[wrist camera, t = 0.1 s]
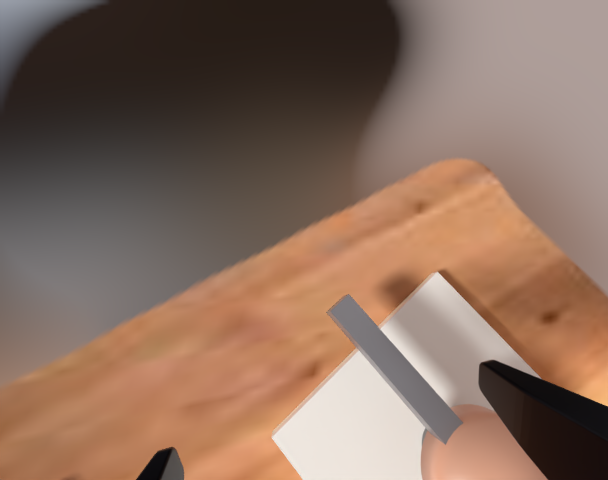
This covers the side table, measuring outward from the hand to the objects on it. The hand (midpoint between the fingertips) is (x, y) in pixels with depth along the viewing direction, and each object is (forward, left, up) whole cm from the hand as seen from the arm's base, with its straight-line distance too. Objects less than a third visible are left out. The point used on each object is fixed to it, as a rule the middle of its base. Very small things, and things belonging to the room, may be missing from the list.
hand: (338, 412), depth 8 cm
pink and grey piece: (-7, -4, -11) cm, 13 cm away
